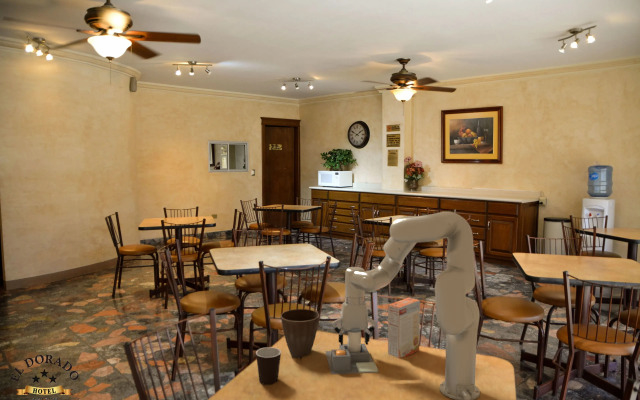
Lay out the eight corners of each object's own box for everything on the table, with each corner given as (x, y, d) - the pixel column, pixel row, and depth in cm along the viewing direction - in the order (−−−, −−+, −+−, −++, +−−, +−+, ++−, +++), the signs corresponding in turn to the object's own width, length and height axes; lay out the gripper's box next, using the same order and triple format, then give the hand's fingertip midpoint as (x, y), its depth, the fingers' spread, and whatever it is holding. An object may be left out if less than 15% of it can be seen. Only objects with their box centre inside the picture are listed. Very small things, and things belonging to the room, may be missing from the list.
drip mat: (378, 371, 166) (378, 370, 165) (359, 372, 165) (359, 371, 165) (374, 363, 172) (374, 362, 172) (355, 364, 172) (355, 362, 172)
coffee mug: (274, 388, 155) (274, 359, 154) (251, 383, 158) (251, 355, 157) (288, 373, 166) (288, 346, 165) (266, 369, 169) (266, 342, 168)
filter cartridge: (362, 359, 176) (362, 328, 175) (348, 359, 175) (348, 328, 174) (359, 353, 181) (359, 323, 180) (346, 354, 181) (346, 324, 180)
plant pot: (291, 365, 172) (291, 323, 171) (274, 351, 185) (274, 312, 184) (325, 357, 180) (326, 317, 178) (307, 344, 193) (307, 306, 191)
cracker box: (407, 346, 191) (408, 296, 190) (419, 350, 187) (421, 299, 185) (386, 356, 182) (387, 303, 180) (399, 360, 177) (400, 307, 176)
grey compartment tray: (378, 375, 165) (379, 357, 165) (331, 376, 163) (331, 359, 163) (367, 352, 185) (367, 336, 184) (325, 353, 183) (325, 337, 183)
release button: (346, 364, 167) (346, 353, 167) (336, 364, 167) (336, 354, 166) (344, 360, 171) (344, 349, 170) (335, 360, 170) (335, 349, 170)
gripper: (375, 296, 181) (374, 339, 183) (331, 297, 179) (330, 340, 181) (379, 302, 174) (378, 347, 175) (333, 303, 172) (332, 348, 173)
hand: (353, 343), depth 178 cm, fingers open, 9 cm apart
